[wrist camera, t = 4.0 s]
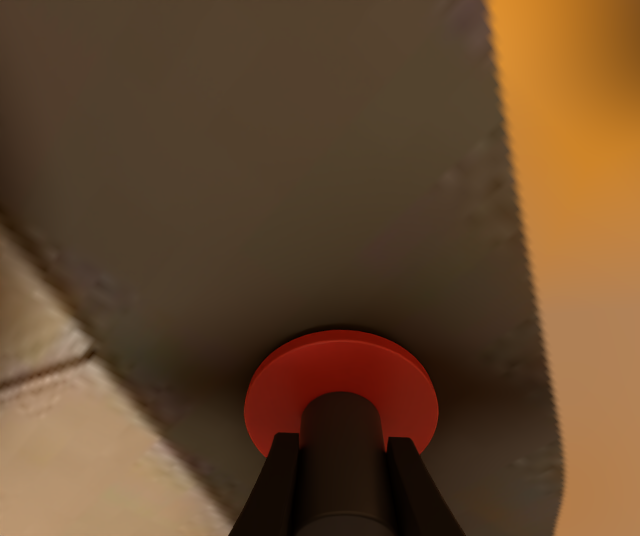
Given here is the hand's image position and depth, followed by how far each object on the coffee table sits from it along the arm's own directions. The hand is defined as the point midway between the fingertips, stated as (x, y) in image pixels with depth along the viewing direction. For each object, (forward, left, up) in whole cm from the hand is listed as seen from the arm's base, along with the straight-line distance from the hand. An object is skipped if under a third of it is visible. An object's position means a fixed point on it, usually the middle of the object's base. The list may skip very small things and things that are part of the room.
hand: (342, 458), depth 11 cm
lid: (0, 0, -2) cm, 2 cm away
